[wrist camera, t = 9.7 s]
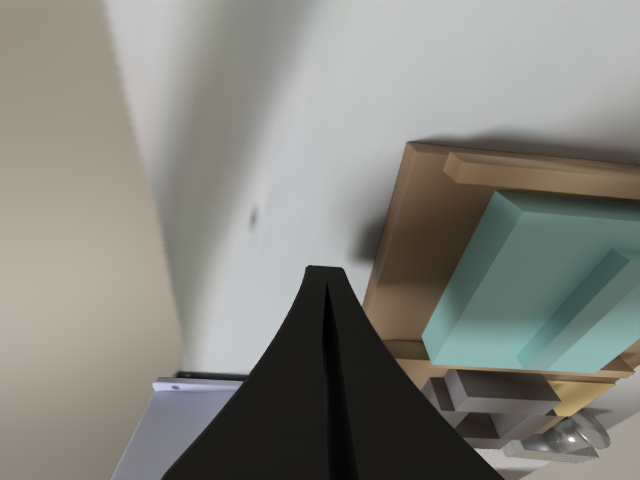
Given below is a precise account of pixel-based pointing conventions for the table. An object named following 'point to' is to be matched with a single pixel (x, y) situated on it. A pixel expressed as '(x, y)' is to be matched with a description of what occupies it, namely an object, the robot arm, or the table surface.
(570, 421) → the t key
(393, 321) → the board
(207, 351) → the table surface
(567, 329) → the cover
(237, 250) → the table surface
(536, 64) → the table surface
